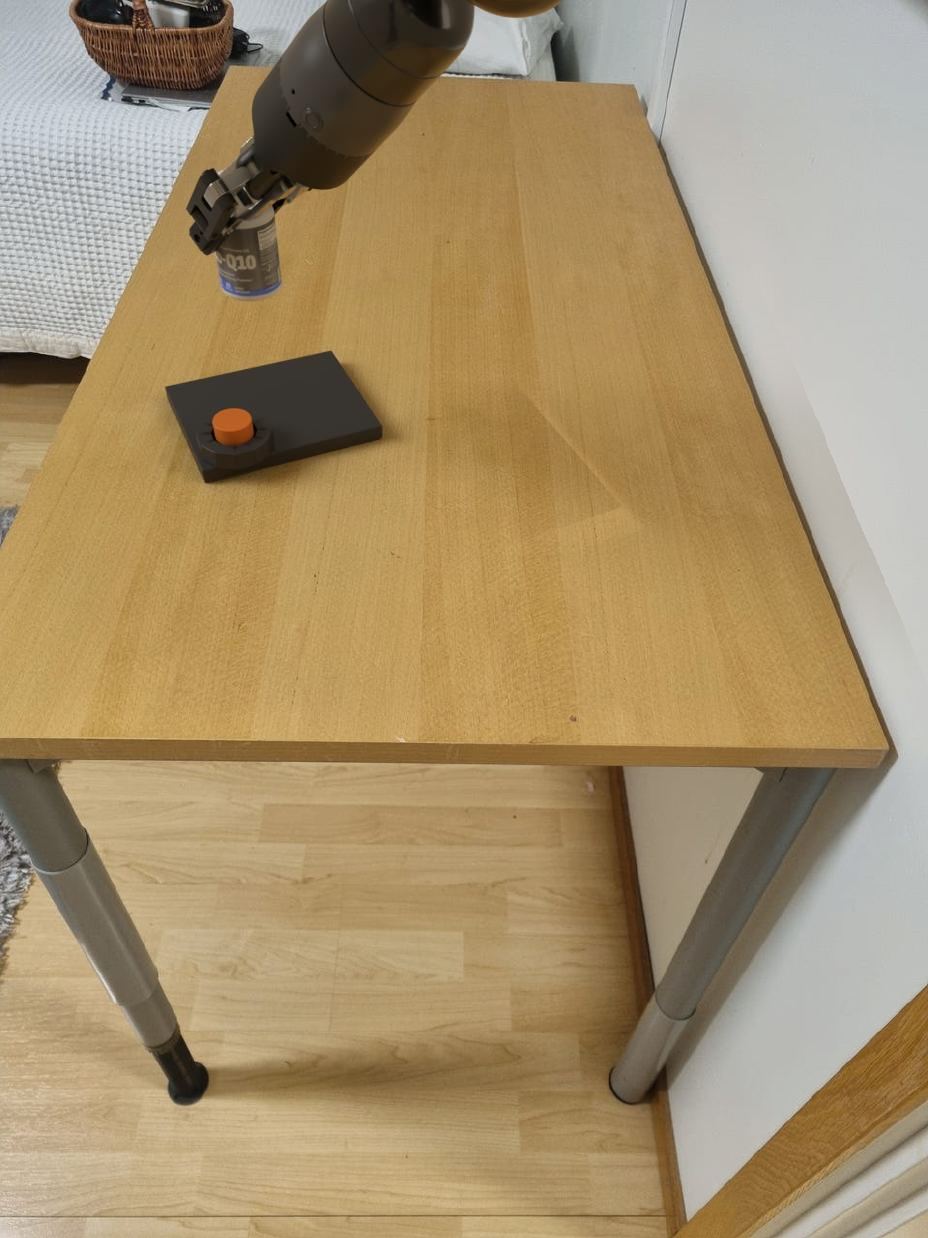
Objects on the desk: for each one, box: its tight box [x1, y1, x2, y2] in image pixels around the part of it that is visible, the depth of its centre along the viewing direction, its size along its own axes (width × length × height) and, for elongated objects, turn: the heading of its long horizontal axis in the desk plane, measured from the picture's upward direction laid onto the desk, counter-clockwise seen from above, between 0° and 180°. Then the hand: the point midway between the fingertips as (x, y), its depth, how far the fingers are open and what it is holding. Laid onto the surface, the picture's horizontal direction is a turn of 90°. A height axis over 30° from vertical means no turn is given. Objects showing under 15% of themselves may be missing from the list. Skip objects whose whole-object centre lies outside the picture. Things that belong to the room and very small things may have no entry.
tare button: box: [212, 408, 254, 446], centre depth 78 cm, size 3×3×2 cm
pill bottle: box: [214, 169, 283, 303], centre depth 70 cm, size 5×5×8 cm
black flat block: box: [164, 350, 383, 484], centre depth 83 cm, size 16×14×3 cm
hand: (226, 229), depth 71 cm, fingers closed on pill bottle, 4 cm apart
